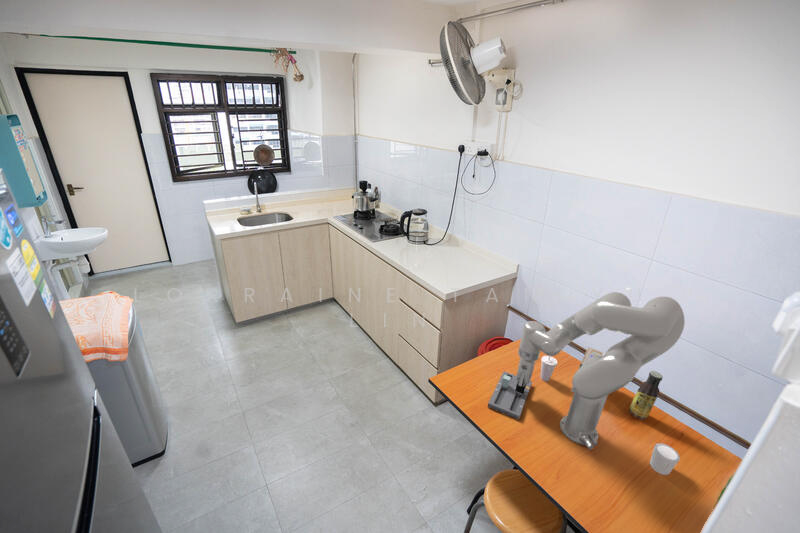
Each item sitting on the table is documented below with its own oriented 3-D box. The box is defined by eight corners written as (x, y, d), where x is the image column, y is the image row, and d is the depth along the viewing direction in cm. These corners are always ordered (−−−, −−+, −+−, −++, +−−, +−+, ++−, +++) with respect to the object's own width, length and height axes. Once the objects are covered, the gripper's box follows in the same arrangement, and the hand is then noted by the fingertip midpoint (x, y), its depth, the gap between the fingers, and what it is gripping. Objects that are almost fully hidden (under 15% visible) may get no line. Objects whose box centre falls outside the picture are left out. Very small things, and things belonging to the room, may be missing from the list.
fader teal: (507, 390, 147) (509, 380, 145) (500, 388, 148) (502, 378, 146) (508, 387, 149) (510, 377, 147) (502, 384, 150) (504, 374, 148)
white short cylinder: (649, 454, 124) (655, 439, 121) (673, 466, 120) (680, 451, 117) (646, 467, 119) (653, 452, 116) (671, 481, 115) (679, 465, 112)
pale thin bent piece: (596, 403, 144) (607, 374, 138) (570, 392, 150) (579, 363, 144) (603, 383, 155) (613, 355, 149) (579, 373, 161) (587, 345, 155)
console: (518, 420, 135) (519, 415, 134) (487, 406, 140) (488, 402, 139) (531, 385, 152) (532, 381, 151) (503, 374, 158) (503, 370, 157)
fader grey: (521, 396, 144) (525, 382, 141) (515, 394, 145) (518, 379, 142) (523, 393, 146) (526, 378, 143) (516, 390, 147) (520, 376, 144)
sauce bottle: (628, 416, 139) (645, 375, 131) (628, 406, 144) (643, 366, 136) (648, 423, 136) (666, 382, 128) (647, 412, 141) (664, 372, 133)
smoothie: (533, 375, 158) (540, 349, 152) (544, 371, 161) (551, 345, 155) (544, 384, 153) (551, 358, 147) (556, 381, 155) (563, 354, 150)
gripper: (535, 367, 129) (525, 406, 137) (542, 344, 142) (533, 381, 150) (514, 360, 133) (505, 398, 140) (523, 338, 146) (515, 374, 153)
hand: (520, 389), depth 145 cm, fingers closed on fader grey, 2 cm apart
